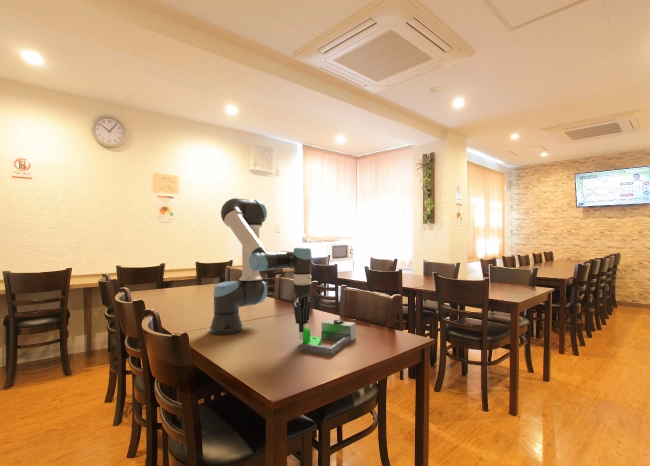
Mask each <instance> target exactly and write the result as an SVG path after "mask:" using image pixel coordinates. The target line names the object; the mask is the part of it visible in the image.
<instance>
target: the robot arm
mask: <svg viewBox="0 0 650 466" xmlns="http://www.w3.org/2000/svg"><path fill="white" fill-rule="evenodd" d="M267 216H268V212H267V208H266V206H265V204H264V203H263V202H262V201H260V200H257V199H249V198H248V199H246V198H230V199H228V200H226V201H225V202H224V203H223V204H222V207H221V209H220V217H221V220H222V222H223V224H225V226H226V227H228V228H230V230H231V231H232V232H233V234H234V236H235V237H236V238H237V240H238V241H239V243H240V244H241V247H242V248H241V254H242V257H241V258H242V259H241V266H242V267H241V268H242V269H241V272H242V273H241V275H242V276H240V278H239V280H230V281H228V280H227V281H222V282H220V283H217V284H216V285H215V286H214V289H213V317H212V321H211V325H210V328H209V332H210V334H212V335H215V336H216V335H217V336H226V335H234V334H237V333H240V332H242V331H243V322H242V320H241V317H240V309H239V308H243V307H246V306H255V305H258V304H262V303H263V302H264V301H265V300H266V298H267V296H268V295H267V294H268V286H267V284H266V282H265V281H263V277H262V276H261V275H260V272H264V271H271V270H273V271H275V270H283V269H290V270H293V284H294V285H293V293H294V294H295V296H296V297H295V301H293V302H292V306H293V311H294V318H295V319H294V320H295V324H297V325H298V339H299V340H303V331H304V328H307V324H309V322H310V315H311V305H312V302H313V301H312V300H313V298H312V297H310V294H311V293H312V284H311V283H312V258H313V257H312V250H311V247H295V248H293V251H287V250H284V251H283V250H282V251H272V252H269V251H268V250H267V249H266V247H265V245H264V244H263V242H261V240H260V228H261V227H263V223H264V222H266V218H267Z"/></svg>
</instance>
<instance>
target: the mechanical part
mask: <svg viewBox="0 0 650 466" xmlns="http://www.w3.org/2000/svg"><path fill="white" fill-rule="evenodd" d="M302 343H305V344H312V345H318V346H321V344H322V339H321V337H320V336H314V335H313V336H311V328H307V327H306V328H304V331H303V339H302Z"/></svg>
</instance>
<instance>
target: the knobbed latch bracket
mask: <svg viewBox="0 0 650 466" xmlns="http://www.w3.org/2000/svg"><path fill="white" fill-rule="evenodd" d="M356 325H357V324H356V322H351V321H344V320H343V319H334V320H333V319H326V320H324V321H322V322H321V333H320V334H321V337H320V338H321V340H327V341H333V342H335V343H334V344H332V345H331V346H323V345H320V346H318V345H312V344H305V343H303V342H301V343H300V352H301V353H309V354H313V355H320V356H326V357H333V356H334V355H335V354H337V353H338V352H339V351H341V350H342V349H343V348H345V347H346V346H347V345H349V344H350V343H352V342H353V341H355V340H356V337H357V335H356V330H357V329H356Z"/></svg>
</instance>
